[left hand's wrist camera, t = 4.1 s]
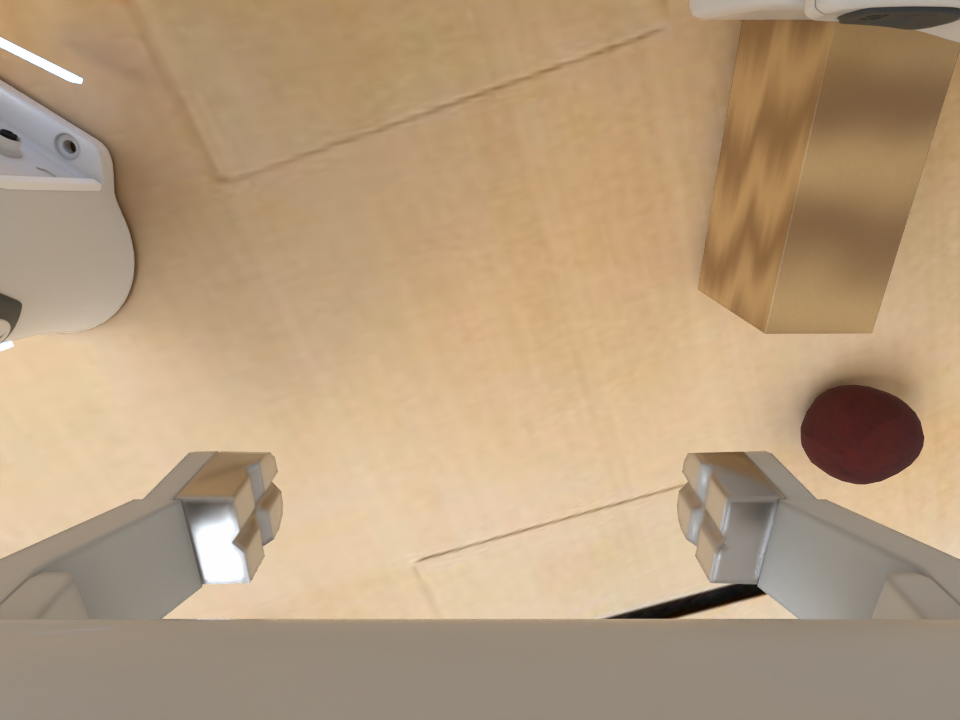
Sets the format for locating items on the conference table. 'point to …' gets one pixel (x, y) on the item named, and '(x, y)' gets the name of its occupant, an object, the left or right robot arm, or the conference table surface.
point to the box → (820, 170)
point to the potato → (861, 434)
